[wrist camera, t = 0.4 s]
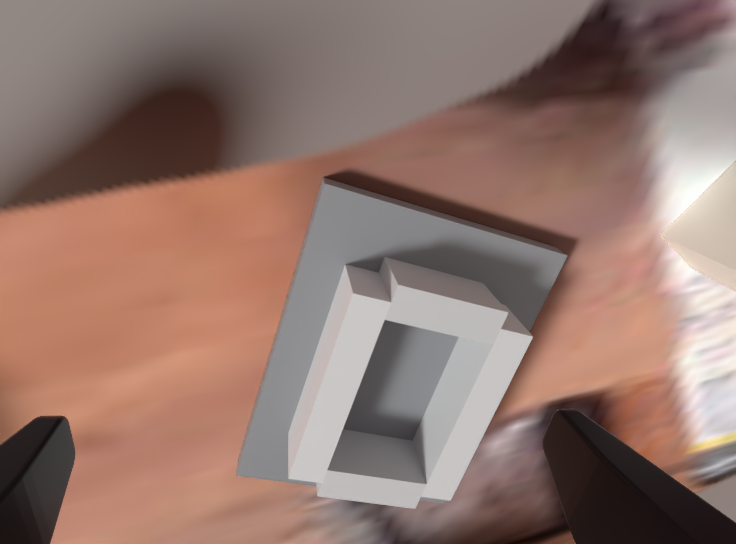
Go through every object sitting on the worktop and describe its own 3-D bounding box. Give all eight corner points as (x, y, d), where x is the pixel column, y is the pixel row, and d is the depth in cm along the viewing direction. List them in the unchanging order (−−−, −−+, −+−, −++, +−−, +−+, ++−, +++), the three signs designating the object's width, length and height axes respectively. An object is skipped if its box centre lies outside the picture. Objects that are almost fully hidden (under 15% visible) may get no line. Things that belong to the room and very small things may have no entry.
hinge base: (438, 486, 30) (460, 549, 26) (238, 458, 27) (229, 524, 23) (555, 246, 24) (604, 281, 21) (322, 177, 21) (330, 202, 18)
